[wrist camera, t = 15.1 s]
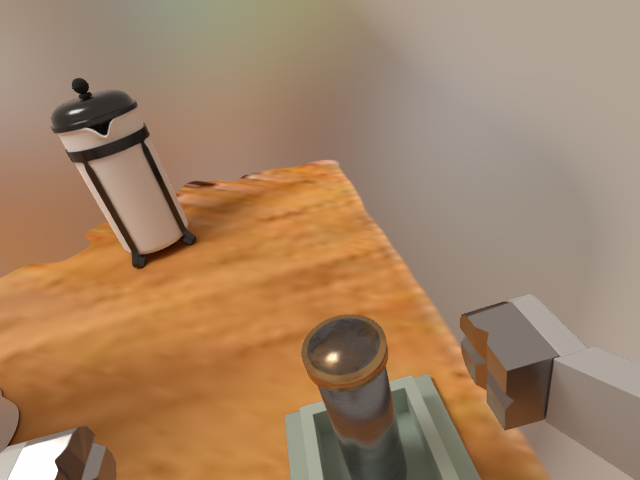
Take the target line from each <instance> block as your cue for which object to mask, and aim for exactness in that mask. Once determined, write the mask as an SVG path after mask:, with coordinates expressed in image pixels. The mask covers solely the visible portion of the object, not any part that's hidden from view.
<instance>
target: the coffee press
mask: <svg viewBox="0 0 640 480" xmlns="http://www.w3.org/2000/svg"><path fill="white" fill-rule="evenodd" d="M72 89H74V91H76V92H77V93H79V94H80V95H79V98H76V99H73V100H71V101H68V102H66V103H64V104H62V105H60V106H59V107H57V108H56V109H55V110H54V112H53V114H52V117H51V120H52V124H53V126H52V127H51V129H52V131H53V132H54V133H55V134H56V135H58V136H59V137H60V139H61V141H62V142H63V144H64V146H65V148H66V152H67V154H68V156H69V158H70V159H71V161H72V162H74V163H75V165H76V167H77V168H78V170H79V172H80V174H81V175H82V177H83V179H84V181H85V182H86V184H87V186H88V187H89V189H90V191H91V192H92V194H93V196H94V198H95V200H96V201H97V203H98V205H99V207H100V208H101V210H102V212H103V213H104V215H105V217H106V219H107V220H108V222H109V224H110V226H111V227H112V229H113V231H114V233H115V234H116V236H117V238H118V239H119V241H120V243H121V244H122V246H123V248H124V249H125V250H126V251H127V252H129V253H132V265H133V267H135V268H140V267H144V265H145V259H146V256H147V254H149V253H153V252H156V251H159V250H161V249H164V248H166V247H168V246H170V245H171V244H173V243H175V242H176V241H182V242H184V243H186V244H188V245H192V244H193V243H194V242H195V240H196V237H195V236H194V235H193V234H192V233H190V232H189V231H188V230H187V227H188V221H187V219H186V216H185V214H184V212H183V209H182V207H181V205H180V203H179V201H178V198H177V196H176V194H175V192H174V190H173V187H172V185H171V183H170V181H169V179H168V177H167V174H166V172H165V170H164V168H163V166H162V163H161V161H160V159H159V157H158V155H157V152H156V151H155V148H154V146H153V144H152V142H151V139H150V137H149V135H150V134H149V132H148V129H147V127H146V125H145V123H143V122H142V120H141V118H140V116H139V113H138V111H137V106H138V105H137V103H136V101H135V100H132V99H131V98H130V97H129V95H128V94H126V93H125V92H122V91H119V90H106V91H100V92H96V93H92V94H91V93H90V92H87V91H88V89H89V86H88V83H87V82H86V81H85V80H84V79H81V78H77V79H75V80H73V82H72ZM183 235H185V236H186V237H185V236H183ZM140 254H141V255H140ZM139 255H140V257H139Z"/></svg>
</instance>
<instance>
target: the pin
mask: <svg viewBox="0 0 640 480" xmlns="http://www.w3.org/2000/svg"><path fill="white" fill-rule="evenodd" d="M301 353H302V359H303V363H304V365H305V368H306V371H307V373H308V375H309V377H310V378H311V380H312V381H313V382H314V383H315V384H317V385H318V387H319V390H320V393H321V396H322V399H323V401H324V404H325V407H326V410H327V413H328V416H329V418H330V421H331V424H332V427H333V430H334V433H335V435H336V438H337V441H338V444H339V447H340V450H341V452H342V455H343V458H344V461H345V464H346V467H347V469H348V472H349V475H350V478H351V480H405V479H406V476H407V465H406V460H405V455H404V451H403V446H402V441H401V436H400V432H399V427H398V422H397V418H396V413H395V408H394V403H393V399H392V394H391V389H390V384H389V380H388V375H387V370H386V364H387V361H388V347H387V342H386V337H385V334H384V332H383V330H382V328H381V327H380V326H379V325H378V324H377V323H376V322H375V321H373V320H371V319H369V318H367V317H364V316H360V315H340V316H336V317H333V318H330V319H327V320H325V321H323V322H322V323H320V324H319V325H317V326H316V327H315V328H314V329H312V331H311V332H310V333H309V334H308V335H307V337H306V339H305V340H304V343H303V346H302V352H301Z"/></svg>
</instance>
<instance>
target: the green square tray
mask: <svg viewBox="0 0 640 480" xmlns="http://www.w3.org/2000/svg"><path fill="white" fill-rule="evenodd" d="M389 384H390V389H391V394H392V399H393V403H394V408H395V413H396V418H397V422H398V427H399V432H400V436H401V441H402V446H403V451H404V455H405V460H406V465H407V476H406V479H405V480H481V478H480V476H479V474H478V472H477V470H476V468H475V466H474V464H473V462H472V460H471V458H470V456H469V454H468V452H467V450H466V448H465V446H464V444H463V442H462V440H461V438H460V436H459V434H458V432H457V430H456V428H455V426H454V424H453V422H452V420H451V418H450V416H449V414H448V412H447V410H446V408H445V406H444V404H443V402H442V400H441V398H440V396H439V394H438V392H437V390H436V388H435V386H434V384H433V382H432V380H431V378H430V376H429V374H425V375H421V376H418V377H415V378H413V376H412V375H410V376H406V377H403V378H400V379H396V380H393V381H389ZM285 424H286V435H287V445H288V456H289V467H290V477H291V480H351V478H350V475H349V472H348V469H347V467H346V464H345V461H344V458H343V455H342V452H341V450H340V447H339V444H338V441H337V438H336V435H335V433H334V430H333V427H332V424H331V421H330V418H329V416H328V413H327V410H326V407H325V404H324V401H320V402H317V403H314V404H310V405H307V406H303V407H300V411H298V412H294V413H291V414H287V415H285Z"/></svg>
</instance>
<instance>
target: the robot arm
mask: <svg viewBox="0 0 640 480" xmlns="http://www.w3.org/2000/svg"><path fill="white" fill-rule="evenodd" d="M460 328H461V330H462V331H463V333H464V334H465V337H464V338H463V340H462V341H461V349H462V355H463V358H464V362H465V365H466V367H467V369H468V371H469V374H470V375H471V377H472V379H473V380H474V382H475V384H476V385H478V386H480V387H482V388H483V389H485V390H487V403H488V405H489V406H490V408H491V410H492V411H493V413H494V414H495V416H496V418H497V419H498V421H499V422H500V424H501V425H502V427H503V429H504V430H508V429H512V428H515V427H519V426H523V425H526V424H530V423H534V422H538V421H541V420H545V419H546V422H547V423H549V424H550V425H552V426H553V427H555V428H556V429H558V430H559V431H561V432H562V433H564V434H566V435H567V436H569V437H570V438H572V439H573V440H575V441H576V442H578V443H579V444H581V445H583V446H584V447H586V448H587V449H589V450H590V451H592V452H594V453H595V454H596V455H598V456H600V457H601V458H603V459H604V460H606V461H607V462H609V463H610V464H612V465H614V466H615V467H617V468H618V469H620V470H621V471H623V472H624V473H626V474H627V475H629V476H630V477H632V478H633V479H635V480H640V363H638V362H635V361H632V360H630V359H627V358H624V357H622V356H619V355H617V354H614V353H611V352H609V351H606V350H604V349H601V348H599V347H596V346H595V347H591V348H587V347H586V346H585V345H584V344H583V343H582V342H581V341H580V340H579V339H578V338H577V337H576V336H575V335H574V334H573V333H572V332H571V331H570V330H569V329H568V328H567V327H566V326H565V325H564V324H563V323H562V322H561V321H560V320H559V319H558V318H557V317H556V316H555V315H553V313H552V312H551V311H550V310H548V309H547V308H546V307H545V306H544V305H543V304H542V303H541V302H540V301H539V300H538V299H537V298H536V297H535V296H533V295H530V294H528V295H524V296H521V297H518V298H515V299H511V300H508V301H506V302H501V303H497V304H494V305H491V306H487V307H484V308H481V309H477V310H474V311H471V312H468V313H464V314H462V315H461V318H460ZM18 420H19V411H18V408H17V406H16V405H15V404H14V403H13V402H11V401H9V400H7V399H6V398H4V397H2V392H1V389H0V480H116V463H115V460H114V458H113V455H112V453H111V452H110V451H109V450H108V448H107V447H105V446H102V445H99V444H96V443H94V439H95V434H94V433H93V432H92V431H91V430H90V429H89V428H88V427H87V426H83V427H77V428H74V429H70V430H66V431H62V432H59V433H55V434H51V435H47V436H44V437H40V438H36V439H32V440H30V441H26V442H22V443H19V444H15V445H11V446H8V447H7V445H8V444H9V442H10V440H11V438H12V436H13V435H14V432H15V430H16V427H17V424H18ZM6 447H7V448H6ZM5 448H6V449H5Z"/></svg>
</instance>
